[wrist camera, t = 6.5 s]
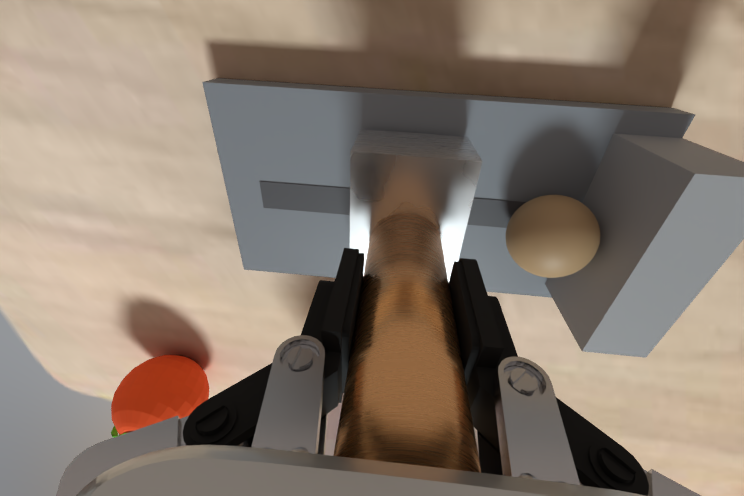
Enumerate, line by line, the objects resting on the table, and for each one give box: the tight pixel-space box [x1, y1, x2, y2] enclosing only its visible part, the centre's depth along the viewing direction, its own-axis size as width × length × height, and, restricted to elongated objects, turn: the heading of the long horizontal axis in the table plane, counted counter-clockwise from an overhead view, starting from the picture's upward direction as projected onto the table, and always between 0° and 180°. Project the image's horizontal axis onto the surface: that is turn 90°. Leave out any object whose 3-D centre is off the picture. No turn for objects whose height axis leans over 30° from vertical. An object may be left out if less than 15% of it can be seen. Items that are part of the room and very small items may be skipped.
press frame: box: [203, 78, 744, 357], centre depth 16 cm, size 22×11×6 cm, turn 87°
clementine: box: [111, 355, 209, 437], centre depth 27 cm, size 8×7×7 cm
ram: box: [333, 129, 483, 473], centre depth 11 cm, size 5×8×15 cm, turn 177°
